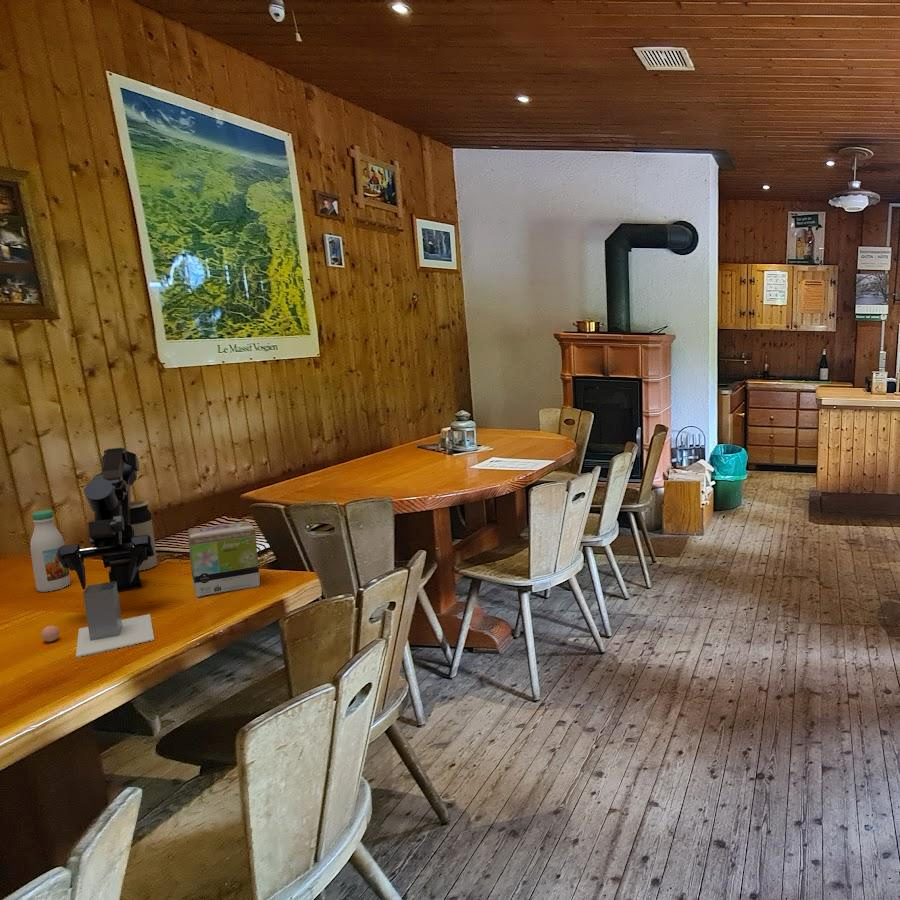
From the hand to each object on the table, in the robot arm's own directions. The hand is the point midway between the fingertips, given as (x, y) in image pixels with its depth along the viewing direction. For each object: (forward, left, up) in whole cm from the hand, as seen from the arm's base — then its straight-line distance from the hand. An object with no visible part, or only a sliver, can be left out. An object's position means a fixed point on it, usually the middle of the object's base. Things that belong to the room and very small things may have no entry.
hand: (107, 585), depth 151 cm
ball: (+11, +4, -8) cm, 15 cm away
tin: (+1, +8, -8) cm, 11 cm away
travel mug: (-8, -41, -9) cm, 43 cm away
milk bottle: (+13, -37, -9) cm, 40 cm away
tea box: (-26, -9, -9) cm, 28 cm away
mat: (-1, +9, -8) cm, 12 cm away
